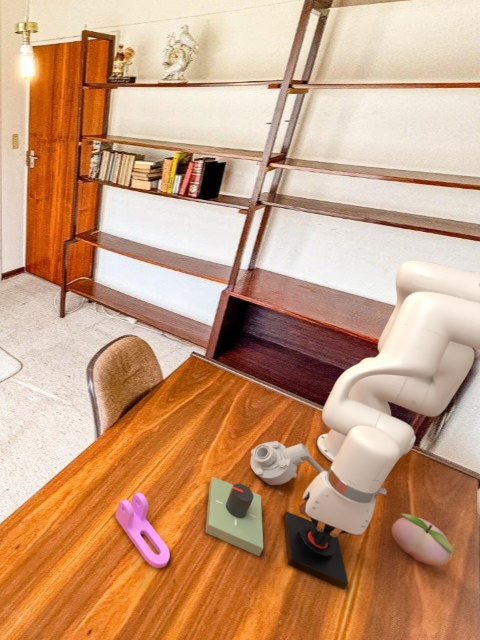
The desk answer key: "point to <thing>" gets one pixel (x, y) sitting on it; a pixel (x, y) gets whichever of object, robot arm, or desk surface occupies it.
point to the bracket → (142, 530)
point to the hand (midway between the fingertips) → (317, 539)
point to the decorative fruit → (422, 540)
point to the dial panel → (234, 519)
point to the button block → (313, 552)
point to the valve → (279, 461)
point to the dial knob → (239, 500)
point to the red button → (314, 543)
